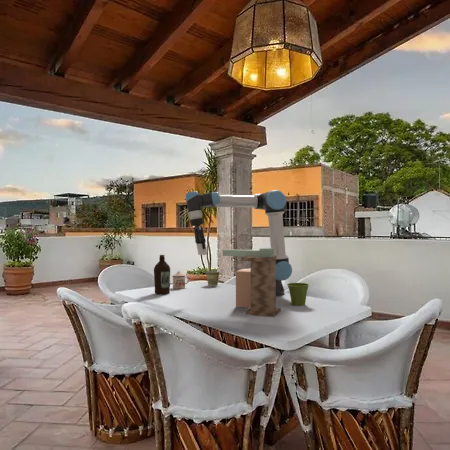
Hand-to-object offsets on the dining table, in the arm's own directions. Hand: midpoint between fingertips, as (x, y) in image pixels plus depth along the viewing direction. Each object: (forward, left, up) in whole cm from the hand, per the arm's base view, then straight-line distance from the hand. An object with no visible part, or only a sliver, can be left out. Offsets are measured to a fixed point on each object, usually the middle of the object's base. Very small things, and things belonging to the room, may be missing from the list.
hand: (202, 254), depth 219 cm
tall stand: (-23, +35, -27) cm, 50 cm away
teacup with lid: (+8, -53, -27) cm, 60 cm away
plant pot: (-49, +22, -27) cm, 60 cm away
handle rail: (-18, +32, +1) cm, 37 cm away
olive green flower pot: (-17, -57, -27) cm, 65 cm away
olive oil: (+22, -32, -27) cm, 47 cm away
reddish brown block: (-25, +17, -27) cm, 40 cm away
